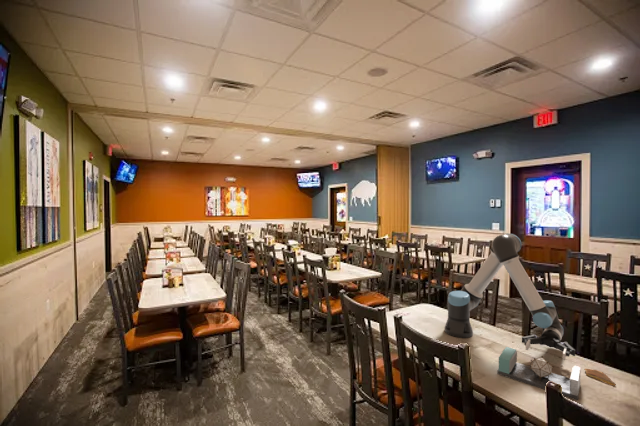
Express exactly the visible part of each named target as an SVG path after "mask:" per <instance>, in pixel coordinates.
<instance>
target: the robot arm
mask: <svg viewBox="0 0 640 426" xmlns="http://www.w3.org/2000/svg"><path fill="white" fill-rule="evenodd" d="M521 248H522V241H521V239H520V237H518V236H517V235H516V234H514V233H504V234H500V235H497V236H496V237H494V238H493V240H492V242H491V247H490V250H489V251H490V254H489V255H488V256H487V258H486V259H485V261H484V262H483V263H482V265H481V266H480V268H479V269H478V270H477V272H476V273H475V275H474V276H473V277H472V279H471V280H470V282H469V283H466V284H464V285H463V287H462V288H461V289H460V290H452V291H450V292H449V293H448V297H447V320H446V323H445V325H444V332H445V334H447V335H449V336H452V337H455V338H462V339H463V338H464V339H468V338H471V337H473V335H474V330H473V328H472V324H471V321H470V317H471V316H470V315H471V314H470V312H471V311H472V310H473V309H475V308H477V307H478V306H479V304H480V301H481V300H482V299H483V298H484V294H483V292H484V291H485V290H486V288H488V286H489V285H490V283H491V282H492V280H493V279H494V278H495V276H496V275H497V274H498V272H499V271H500V270H501V268H502V267H503V266H504V268H505V270H506V272H507V273H508V275H509V277H510V279H511V281H512V283H514V286H515V288H516V289H517V292H519V294H520V296H521V298H522V300H523V301H524V303H525V305H526V306H527V308H528V310H529V312H530V313H531V316H532V322H533V323H534V325H535V326H536V327H538V328H540V329H543V331H542V334H541V335H540V336H537V335H536V333H533V334H532V335H531V334H530V335H526V336H522V337H521V343H522V344H524V346H525V350H527V351H528V350H529V348H530V347H531V345H540V346H546V347H549V348H554V349H556V350H559V351H561V352H562V360H563V361H565V360H566V358H567V357H570V355H571V356H573V357H575V356H576V349H575V348H574V347H573V346H571V345H570V344H569V343H568V341H564V342H561V341H562V338H563V336H564V333H565V332H564V331H565V330H564V327H563V326H562V325H561V322H560V320H559V316H558V313H557V310H556V306H555V304H554V302H553V301H552V300H543V298H542V296H541V295H540V294H539V292H538V290H537V288H536V287H535V285H534V283H533V282H532V280H531V278H530V276H529V274H528V273H527V272H526V271H527V270H525V268H524V266H523V265H522V263H521V261H520V259H519V258H520V255H519V254H518V252H520V250H521Z"/></svg>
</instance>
